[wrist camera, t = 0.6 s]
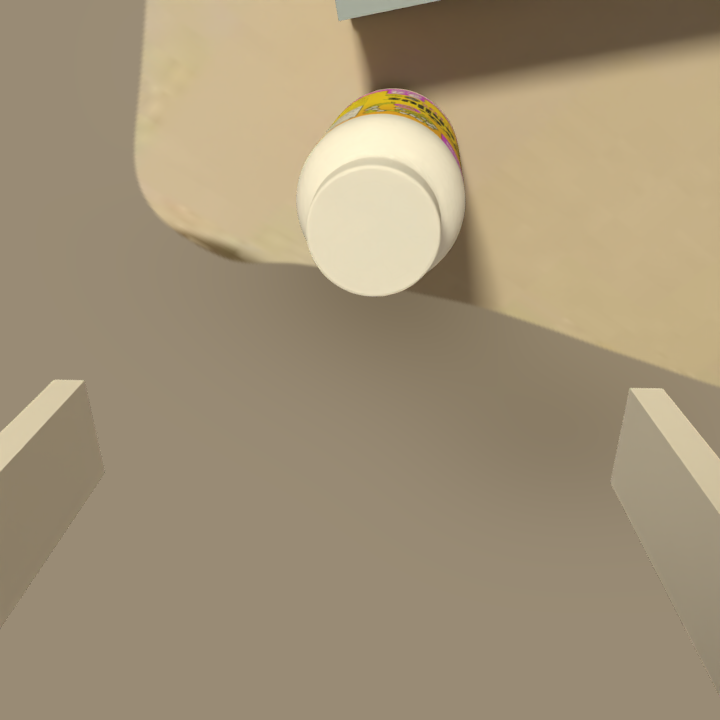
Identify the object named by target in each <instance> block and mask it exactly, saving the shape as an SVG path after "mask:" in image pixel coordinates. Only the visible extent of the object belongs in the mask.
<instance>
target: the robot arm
mask: <svg viewBox="0 0 720 720" xmlns="http://www.w3.org/2000/svg"><path fill="white" fill-rule="evenodd" d="M104 473H105V470H104V465H103V461H102V456H101V452H100V447H99V443H98V438H97V434H96V430H95V424H94V420H93V415H92V411H91V406H90V402H89V398H88V393H87V388H86V384H85V380H53V381H52V382H51V383H50V384H49V385H48V386H47V387H46V388H45V389H44V390H43V391H42V392H41V393H40V394H39V395H38V396H37V397H36V398H35V399H34V400H33V401H32V402H31V403H30V404H29V405H28V406H27V407H26V408H25V409H24V410H23V411H22V412H21V413H20V414H19V415H18V416H17V417H16V418H15V419H14V420H13V421H12V422H11V423H10V424H9V425H8V426H7V427H6V428H4V430H2V431H1V432H0V628H1V627H2V625H3V624H4V622H5V621H6V619H7V618H8V616H9V615H10V613H11V612H12V611H13V609H14V608H15V606H16V604H17V603H18V602H19V600H20V599H21V597H22V596H23V594H24V593H25V591H26V590H27V588H28V587H29V585H30V584H31V582H32V581H33V579H34V578H35V576H36V575H37V573H38V572H39V570H40V569H41V567H42V566H43V564H44V563H45V561H46V560H47V559H48V557H49V555H50V554H51V552H52V551H53V549H54V548H55V547H56V545H57V544H58V542H59V541H60V539H61V538H62V536H63V535H64V533H65V532H66V530H67V529H68V527H69V525H70V524H71V523H72V521H73V520H74V518H75V517H76V515H77V514H78V512H79V511H80V509H81V508H82V506H83V505H84V504H85V502H86V501H87V499H88V497H89V496H90V494H91V493H92V492H93V490H94V489H95V487H96V486H97V484H98V483H99V481H100V480H101V478H102V476H103V475H104ZM610 483H611V485H612V487H613V489H614V491H615V493H616V495H617V497H618V499H619V501H620V503H621V505H622V507H623V509H624V511H625V513H626V515H627V517H628V519H629V521H630V523H631V525H632V526H633V528H634V530H635V532H636V534H637V536H638V538H639V540H640V542H641V544H642V546H643V548H644V550H645V552H646V554H647V556H648V558H649V560H650V562H651V564H652V566H653V567H654V570H655V571H656V573H657V575H658V577H659V579H660V581H661V583H662V585H663V587H664V589H665V591H666V593H667V595H668V597H669V599H670V601H671V603H672V605H673V607H674V608H675V610H676V612H677V614H678V616H679V618H680V620H681V622H682V624H683V626H684V628H685V630H686V632H687V634H688V636H689V638H690V640H691V642H692V644H693V645H694V648H695V650H696V652H697V653H698V656H699V657H700V659H701V661H702V663H703V665H704V667H705V669H706V671H707V673H708V675H709V677H710V679H711V681H712V683H713V685H714V687H715V689H716V691H717V693H718V695H719V696H720V459H719V458H718V456H717V455H716V454H715V453H714V451H713V450H712V449H711V448H710V447H709V445H708V444H707V443H706V442H705V440H704V439H703V438H702V437H701V435H700V434H699V433H698V432H697V431H696V429H695V428H694V427H693V425H692V424H691V423H690V422H689V421H688V419H687V418H686V417H685V416H684V414H683V413H682V412H681V411H680V409H679V408H678V407H677V406H676V404H675V403H674V402H673V401H672V400H671V398H670V397H669V396H668V395H667V393H666V392H665V391H664V390H663V388H630V389H629V393H628V398H627V403H626V408H625V413H624V418H623V423H622V428H621V433H620V438H619V443H618V447H617V452H616V457H615V462H614V467H613V472H612V477H611V482H610Z"/></svg>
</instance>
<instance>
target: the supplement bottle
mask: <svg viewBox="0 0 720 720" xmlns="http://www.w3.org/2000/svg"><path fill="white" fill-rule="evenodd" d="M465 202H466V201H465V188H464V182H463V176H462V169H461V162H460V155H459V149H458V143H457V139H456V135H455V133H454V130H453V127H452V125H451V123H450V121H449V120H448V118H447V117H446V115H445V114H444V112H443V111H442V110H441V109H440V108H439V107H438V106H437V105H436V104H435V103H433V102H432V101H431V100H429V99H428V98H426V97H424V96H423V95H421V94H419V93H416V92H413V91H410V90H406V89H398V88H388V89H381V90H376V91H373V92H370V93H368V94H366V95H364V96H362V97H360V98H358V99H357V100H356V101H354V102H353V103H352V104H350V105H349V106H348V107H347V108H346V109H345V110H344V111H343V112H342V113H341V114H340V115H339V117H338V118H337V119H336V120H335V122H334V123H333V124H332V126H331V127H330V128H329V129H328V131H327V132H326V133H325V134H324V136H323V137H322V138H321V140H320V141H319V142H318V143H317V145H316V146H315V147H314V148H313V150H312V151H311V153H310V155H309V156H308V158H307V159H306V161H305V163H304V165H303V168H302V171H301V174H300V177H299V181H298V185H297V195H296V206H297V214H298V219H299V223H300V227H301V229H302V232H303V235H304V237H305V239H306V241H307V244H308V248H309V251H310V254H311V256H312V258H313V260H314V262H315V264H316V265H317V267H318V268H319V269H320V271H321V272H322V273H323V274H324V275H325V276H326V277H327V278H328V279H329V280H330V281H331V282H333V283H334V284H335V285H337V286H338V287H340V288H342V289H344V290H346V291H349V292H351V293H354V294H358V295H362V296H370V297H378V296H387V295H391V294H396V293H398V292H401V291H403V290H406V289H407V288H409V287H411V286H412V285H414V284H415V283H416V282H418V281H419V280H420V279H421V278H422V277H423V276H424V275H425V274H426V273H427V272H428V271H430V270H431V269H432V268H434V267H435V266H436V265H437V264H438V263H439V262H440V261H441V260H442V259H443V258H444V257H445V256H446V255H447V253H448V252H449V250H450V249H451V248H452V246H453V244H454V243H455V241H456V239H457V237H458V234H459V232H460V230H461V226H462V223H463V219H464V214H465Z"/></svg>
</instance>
